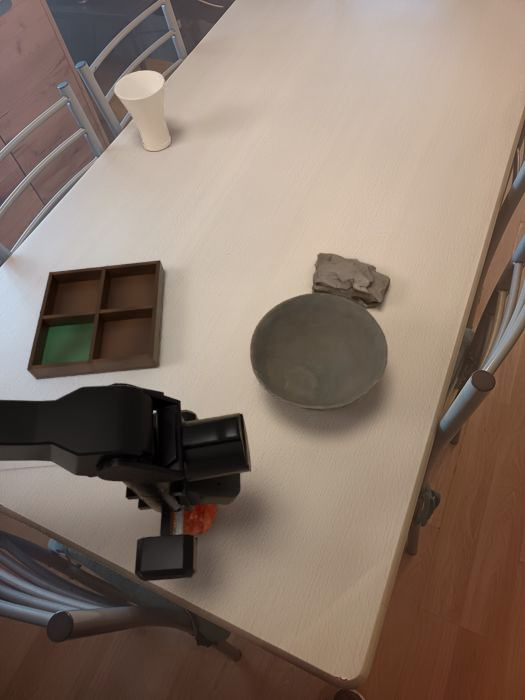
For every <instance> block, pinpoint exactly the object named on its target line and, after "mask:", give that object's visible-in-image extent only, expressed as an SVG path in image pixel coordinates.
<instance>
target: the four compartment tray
mask: <svg viewBox="0 0 525 700" xmlns="http://www.w3.org/2000/svg"><path fill="white" fill-rule="evenodd" d="M165 275H166V271H165V269H164V266H163V264H162V261H161V259H158V260H150V261H142V262H141V261H140V262H132V263H131V262H130V263H122V264H121V263H120V264H113V265H112V264H111V265H104V266H95V267H86V268H84V267H83V268H76V269H68V270H57V271H49V272H48V276H47V279H46V280H47V281H46V285H45V289H44V294H43V298H42V302H41V306H40V311H39V315H38V319H37V324H36V327H35V332H34V337H33V340H32V341H33V342H32V346H31V350H30V354H29V358H28V362H27V367H26V371H27V372H28V373H29V374H30V375H31V376H32V377H33V378H35V380H42V379H52V378H61V377H64V378H65V377H73V376H74V377H75V376H82V375H83V376H85V375H93V374H105V373H114V372H123V371H125V372H126V371H134V370H145V369H156V368H159V367H160V366H159V365H160V352H161V351H160V350H161V338H162V337H161V335H162V334H161V333H162V322H163V318H162V317H163V307H164V306H163V305H164V291H165Z"/></svg>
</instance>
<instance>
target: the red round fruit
mask: <svg viewBox="0 0 525 700" xmlns="http://www.w3.org/2000/svg"><path fill="white" fill-rule="evenodd" d="M217 512H218V507H217V505H215V504H201V505H196V506H194V510H190V511H184V519H183V534H186V535H194V536H195V537H196V536H197V535H204V534H206V533H207V532H208V531H209V529H211V527H212V525H213V523H214V522H215V518H216V517H217ZM174 514H177V513H175V512H174ZM174 518H176V517H175V516H174ZM175 521H176V520H173V529H175V527H174V525H176V524H174V522H175ZM175 532H176V531H174V530H173V533H175Z"/></svg>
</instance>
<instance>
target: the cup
mask: <svg viewBox="0 0 525 700" xmlns="http://www.w3.org/2000/svg"><path fill="white" fill-rule="evenodd" d="M165 82H166V81H165V77H164V76H163V75H162V73H159V72H158V71H155V70H148V69H147V70H137V71H134V72H131V73H128V74H126V75H124V76H122V77H121V78H120V79H119V80H118V81H117V82H116V83H115V85H114V87H113V91H114V94H115V95H116V97H117V98H118V100H119V101H120V102H121V104H122V105H123V106H124V108H125V109H126V111H127V112H128V113H129V114H130V116H131V118H132V120H133V122H134V123H135V126H136V127H137V130H138V132H139V134H140V137H141V141H142V145H143V148H144V149H145V150H147V151H150V152H160V151H162V150H165V149H166V148H167V147H169V146H170V145H171V143H172V137H171V134H170V132H169V129H168V127H167V126H168V125H167V122H166V115H165V114H166V113H165V86H166V85H165ZM169 134H170V135H169ZM169 137H170V139H169ZM168 140H169V141H168ZM167 141H168V142H167ZM166 142H167V143H166ZM143 143H144V144H143ZM164 143H166V144H164ZM163 144H164V145H163ZM145 145H146V146H145ZM161 145H162V146H161ZM147 146H148V147H147ZM157 146H160V147H157ZM151 147H155V148H151Z"/></svg>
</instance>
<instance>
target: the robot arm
mask: <svg viewBox="0 0 525 700" xmlns="http://www.w3.org/2000/svg"><path fill="white" fill-rule="evenodd" d="M154 411H155V412H154ZM27 461H28V462H29V461H30V462H31V461H32V462H33V461H36V462H52V463H54V464H55V465H57V466H59V467H60V468H62V469H64V470H66V471H67V472H69V473H71V474H72V475H75V476H78V477H87V478H99V479H101V480H102V481H106V482H119V483H120V482H122V484H124V485H125V486H126V488H125V498H126V499H127V500H128V501H131V500H132V501H133V500H137V509H138V510H140V511H145V510H146V511H147V510H153V511H154V512H157V513H160V531H159V535H155V536H143V537H141V538H139V539H137V540H136V552H135V563H134V564H135V566H134V575H135V576H137V578H138V579H140V580H141V581H143V582H153V581H166V580H179V579H192V578H193V577H194V576H195V575H196V573H197V572H198V536H196V535H195V536H194V535H186V534H183V519H184V511H190V510H194V506H196V505H201V504H215V505H216V506H217V505H219V506H230V505H231V504H233V503H234V502H235V500H236V499H237V497H238V496H239V494H240V493H241V474H243V473H249V472H252V461H251V451H250V444H249V437H248V432H247V427H246V422H245V417H244V414H243V413H240V412H235V413H230V414H223V415H217V416H212V417H206V418H200V419H199V418H198V415H197V413H195V412H194V411H192V410H189V409H182V401H181V400H180V399H176V398H174V397H171V396H167V395H165V392H164V391H160V390H155V389H150V388H145V387H140V386H139V385H138V386H137V385H135V384H130V383H126V382H125V383H123V382H114V383H111V384H108V385H89V386H88V385H87V386H81V387H78V388H76V389H74V390H72V391H70V392H69V393H66V394H64V395H62V396H60V397H58V398H56V399H49V400H48V399H47V400H25V399H24V400H23V399H0V462H27ZM174 512H175V513H177V514H174ZM174 516H175V517H176V518H174ZM173 520H176V521H175V522H174V524H176V525H174V527H175V529H173ZM173 530H174V531H176V532H174V531H173Z"/></svg>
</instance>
